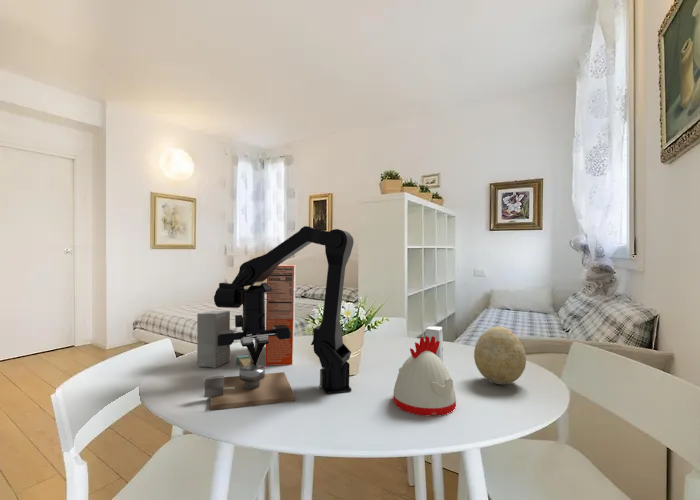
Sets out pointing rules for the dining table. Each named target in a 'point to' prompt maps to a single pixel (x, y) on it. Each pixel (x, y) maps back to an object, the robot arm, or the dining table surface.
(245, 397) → the base
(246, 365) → the metal scoop
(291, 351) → the orange upright rectangular box
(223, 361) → the skincare box
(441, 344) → the skincare box
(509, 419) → the dining table surface
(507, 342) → the fossilized egg
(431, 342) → the kitchen timer
